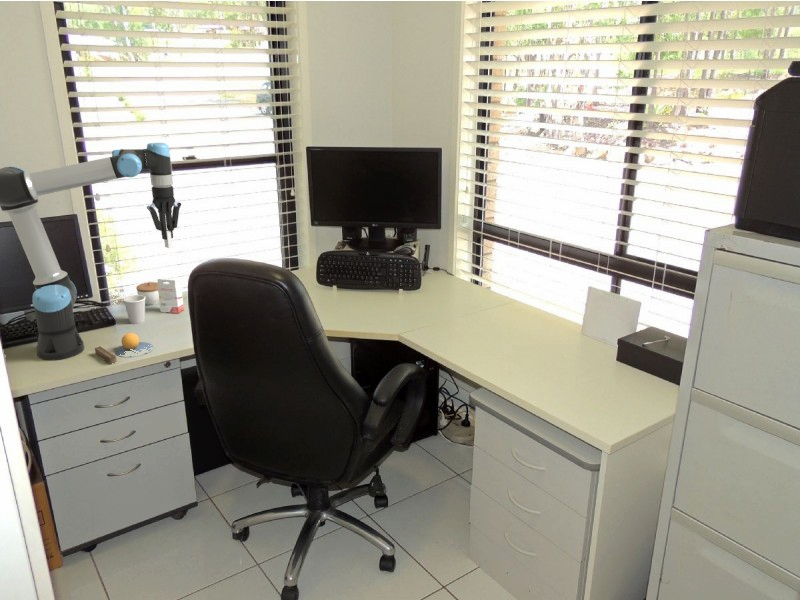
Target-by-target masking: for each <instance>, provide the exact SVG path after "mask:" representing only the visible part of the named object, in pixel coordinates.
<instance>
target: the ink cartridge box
mask: <svg viewBox="0 0 800 600" xmlns="http://www.w3.org/2000/svg"><path fill="white" fill-rule="evenodd" d="M157 283H158V293H159V308H160V313H166V312H169V314H180V313H182V312H183V311H184V309H185V307H184V297H183V296H184V295H183V289H182V288H183V287H182V284H181V283H180V284H179V283H176V280H174V279H172V280H171V279H165V278H163V279H160V278H158V279H157ZM182 310H183V311H182ZM179 312H180V313H179Z"/></svg>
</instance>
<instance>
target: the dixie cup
mask: <svg viewBox="0 0 800 600" xmlns="http://www.w3.org/2000/svg"><path fill="white" fill-rule="evenodd" d="M145 299H146V297H145V296H143V295H138V294H131V295H128V296H125V297H124V298H123V299H122V300H123V302H124V305H125V309H126V313H127V317H128V320H129V324H132V325H138V324H142V323H144V322H145V321H146V304H145Z"/></svg>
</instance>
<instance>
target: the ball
mask: <svg viewBox="0 0 800 600" xmlns="http://www.w3.org/2000/svg"><path fill="white" fill-rule="evenodd" d="M139 342H140V337H139V336H138V335H137V334H136V333H133V332H128V333H126V334H124V335H123V336H122V337H121V342H120V343H121V346H123V347H124V348H126V349H134V348H136V347H137V346H138V345H139Z"/></svg>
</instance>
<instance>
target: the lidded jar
mask: <svg viewBox="0 0 800 600" xmlns="http://www.w3.org/2000/svg"><path fill="white" fill-rule="evenodd" d="M136 292H137V295H143V296H145V297H146V299H145V306H151V305H157V304H160V302H159V293H158V281H156V282H154V281H153V282H152V281H148V282H144V283H140V284H138V285H136Z"/></svg>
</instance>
